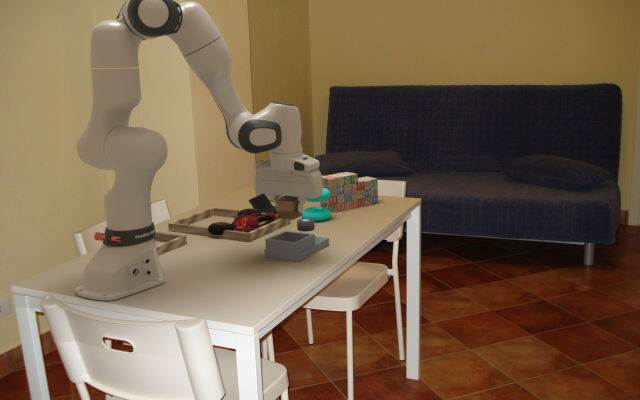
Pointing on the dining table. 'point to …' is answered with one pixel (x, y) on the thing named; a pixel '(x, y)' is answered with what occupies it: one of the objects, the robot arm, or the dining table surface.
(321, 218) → the donuts
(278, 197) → the ramekin
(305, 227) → the wheel
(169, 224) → the wooden open frame
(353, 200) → the stack of blocks
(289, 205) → the brown block
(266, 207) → the handheld gaming console
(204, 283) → the dining table surface
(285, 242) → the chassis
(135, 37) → the robot arm
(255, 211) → the toy motorcycle
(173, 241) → the wooden frame
